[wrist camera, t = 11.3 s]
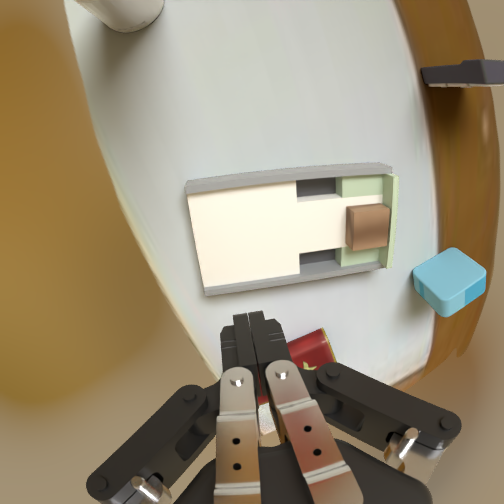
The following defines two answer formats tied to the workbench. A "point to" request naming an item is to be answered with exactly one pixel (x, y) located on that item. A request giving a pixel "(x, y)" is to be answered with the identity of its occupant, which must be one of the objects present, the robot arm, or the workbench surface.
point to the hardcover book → (308, 353)
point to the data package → (449, 281)
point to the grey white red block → (466, 74)
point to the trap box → (286, 224)
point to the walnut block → (367, 226)
